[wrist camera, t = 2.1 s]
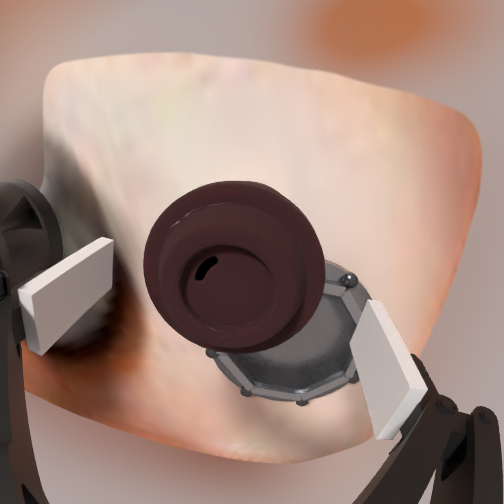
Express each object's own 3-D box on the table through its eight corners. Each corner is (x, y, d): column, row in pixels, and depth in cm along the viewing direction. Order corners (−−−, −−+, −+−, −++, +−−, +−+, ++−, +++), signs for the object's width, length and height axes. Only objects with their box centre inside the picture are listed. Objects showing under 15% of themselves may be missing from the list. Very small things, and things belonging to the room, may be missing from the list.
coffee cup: (315, 256, 30) (344, 351, 16) (217, 280, 31) (174, 382, 17) (288, 153, 27) (302, 161, 13) (184, 184, 29) (102, 224, 14)
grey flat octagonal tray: (200, 377, 36) (196, 389, 34) (225, 236, 30) (221, 243, 28) (341, 402, 36) (343, 414, 34) (399, 276, 30) (407, 285, 28)
